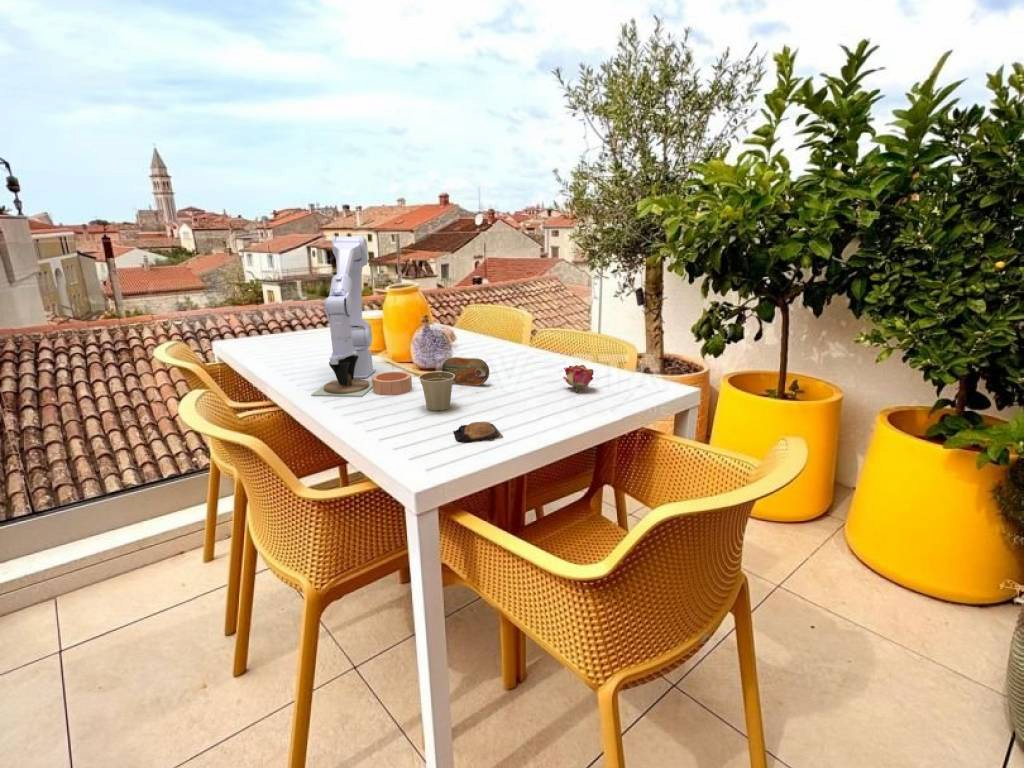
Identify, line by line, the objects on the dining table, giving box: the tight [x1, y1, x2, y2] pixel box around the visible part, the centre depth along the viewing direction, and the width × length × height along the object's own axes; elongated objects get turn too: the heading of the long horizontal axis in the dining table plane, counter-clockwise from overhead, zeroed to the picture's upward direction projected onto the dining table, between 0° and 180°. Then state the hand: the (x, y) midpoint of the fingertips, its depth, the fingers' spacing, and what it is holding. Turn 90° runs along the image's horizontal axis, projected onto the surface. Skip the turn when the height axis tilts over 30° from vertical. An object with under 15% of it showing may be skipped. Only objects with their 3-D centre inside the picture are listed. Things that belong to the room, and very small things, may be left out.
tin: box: [441, 356, 490, 387], centre depth 151 cm, size 15×3×8 cm, turn 71°
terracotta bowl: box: [371, 371, 413, 396], centre depth 147 cm, size 11×11×4 cm
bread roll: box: [453, 421, 504, 444], centre depth 113 cm, size 11×8×4 cm
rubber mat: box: [310, 379, 373, 398], centre depth 148 cm, size 15×15×1 cm
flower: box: [562, 364, 594, 394], centre depth 145 cm, size 10×9×8 cm
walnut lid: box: [323, 374, 369, 394], centre depth 148 cm, size 13×13×4 cm
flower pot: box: [418, 370, 455, 412], centre depth 131 cm, size 9×9×9 cm
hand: (346, 382), depth 148 cm, fingers open, 4 cm apart
